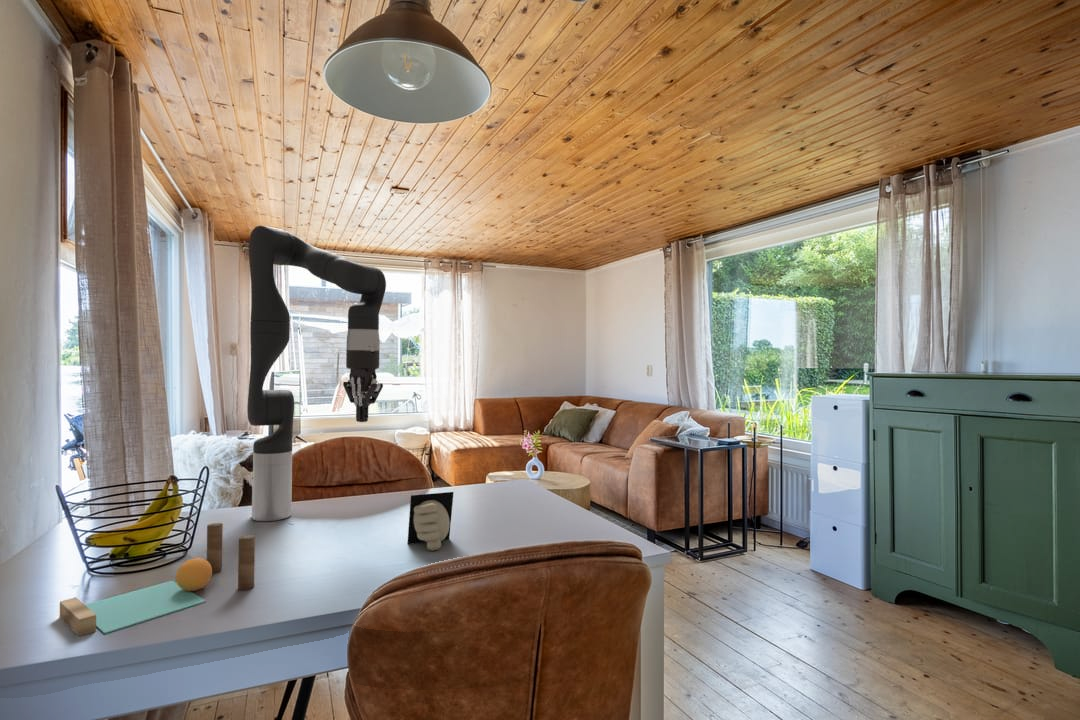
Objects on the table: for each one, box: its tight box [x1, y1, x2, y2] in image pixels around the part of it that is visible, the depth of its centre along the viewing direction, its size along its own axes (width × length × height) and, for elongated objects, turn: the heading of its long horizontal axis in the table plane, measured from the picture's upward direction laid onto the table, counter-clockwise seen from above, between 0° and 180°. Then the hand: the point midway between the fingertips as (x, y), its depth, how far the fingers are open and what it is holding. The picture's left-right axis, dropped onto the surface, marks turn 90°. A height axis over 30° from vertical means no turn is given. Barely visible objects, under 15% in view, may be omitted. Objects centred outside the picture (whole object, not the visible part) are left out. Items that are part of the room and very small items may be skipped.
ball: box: [175, 557, 213, 592], centre depth 98 cm, size 6×6×6 cm
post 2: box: [237, 535, 256, 592], centre depth 100 cm, size 3×3×9 cm
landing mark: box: [84, 580, 207, 635], centre depth 92 cm, size 14×14×1 cm
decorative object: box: [407, 491, 455, 551], centre depth 123 cm, size 12×10×10 cm
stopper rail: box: [59, 597, 97, 637], centre depth 85 cm, size 10×2×2 cm, turn 54°
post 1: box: [206, 522, 224, 575], centre depth 107 cm, size 3×3×9 cm
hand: (362, 421), depth 131 cm, fingers closed
